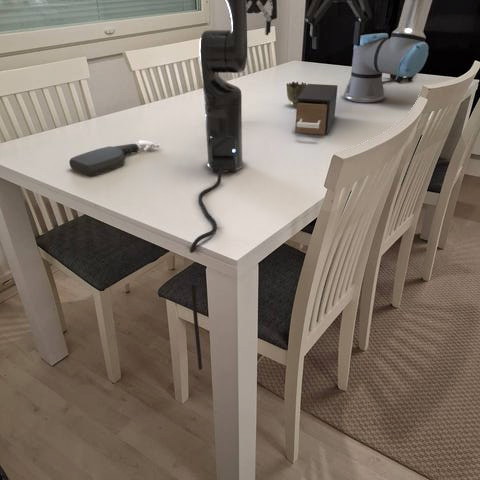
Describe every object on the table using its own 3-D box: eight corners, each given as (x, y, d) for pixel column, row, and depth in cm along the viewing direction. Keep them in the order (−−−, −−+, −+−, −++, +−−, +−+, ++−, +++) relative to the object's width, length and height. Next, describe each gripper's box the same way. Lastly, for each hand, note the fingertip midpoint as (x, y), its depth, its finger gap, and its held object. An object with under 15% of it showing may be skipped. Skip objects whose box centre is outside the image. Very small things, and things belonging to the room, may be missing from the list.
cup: (282, 107, 166) (283, 85, 162) (290, 102, 172) (290, 80, 168) (301, 109, 163) (302, 87, 159) (308, 104, 169) (309, 82, 165)
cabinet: (327, 135, 140) (330, 100, 134) (295, 132, 142) (296, 98, 136) (334, 117, 155) (337, 85, 150) (305, 115, 158) (307, 83, 152)
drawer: (321, 141, 132) (323, 110, 128) (292, 138, 135) (293, 108, 130) (331, 117, 152) (334, 90, 147) (305, 115, 154) (307, 89, 149)
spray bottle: (67, 168, 120) (139, 144, 136) (91, 178, 114) (163, 151, 130) (65, 157, 118) (137, 134, 134) (89, 167, 112) (162, 142, 128)
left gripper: (230, -26, 124) (231, 37, 133) (280, -27, 126) (278, 36, 135) (226, -26, 131) (228, 34, 139) (274, -27, 132) (273, 33, 141)
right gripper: (375, -39, 127) (366, 42, 139) (295, -36, 122) (292, 48, 133) (390, -39, 121) (379, 45, 133) (306, -36, 116) (302, 52, 127)
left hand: (253, 35), depth 137 cm, fingers open, 8 cm apart
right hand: (335, 47), depth 133 cm, fingers open, 13 cm apart
